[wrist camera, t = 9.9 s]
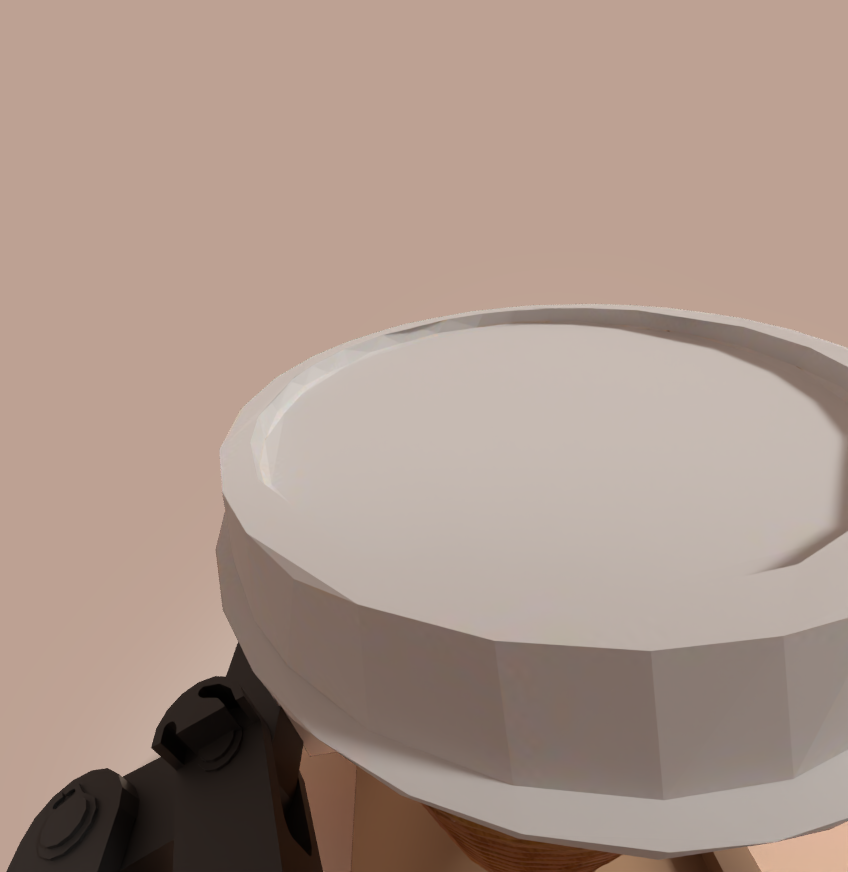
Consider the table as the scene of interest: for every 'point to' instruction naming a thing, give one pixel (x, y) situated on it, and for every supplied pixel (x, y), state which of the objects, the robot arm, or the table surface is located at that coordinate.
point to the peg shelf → (448, 865)
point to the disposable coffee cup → (558, 575)
